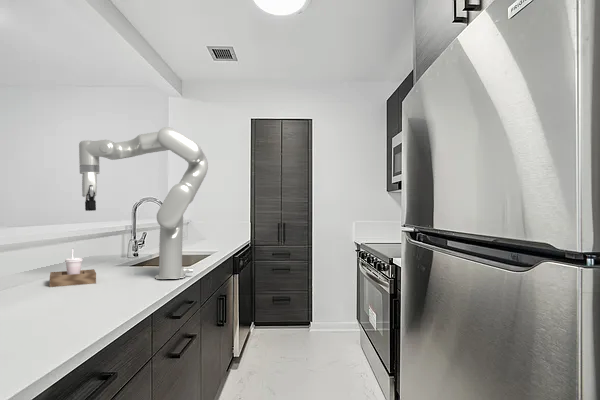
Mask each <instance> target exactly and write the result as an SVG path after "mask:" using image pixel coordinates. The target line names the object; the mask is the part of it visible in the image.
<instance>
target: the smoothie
mask: <svg viewBox="0 0 600 400" xmlns="http://www.w3.org/2000/svg"><path fill="white" fill-rule="evenodd" d="M74 252H75V251H74V247H73V248H71V257H70V258H65V259H64V262H65V266H66V267H65V268H66V271H67V275H69V274H80V270H82V263H83V262H84V261H83V260H84V259H83V257H74Z"/></svg>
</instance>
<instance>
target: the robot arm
mask: <svg viewBox="0 0 600 400" xmlns="http://www.w3.org/2000/svg"><path fill="white" fill-rule="evenodd" d="M78 151H79V152H78V157H79V161H78V162H79V163H78V165H79V175H80V174H81V187H82V188H81V192H82V193H81V196H82V198H85V201H84V206H85V208H84V209H85V212H87V211H88V212H91V211H93V212H94V211H95V212H96V210H97V208H96V207H97V206H96V205H97V204H96V203H97V202H96V196H97V188H98V186H97V184H98V183H97V181H98V179H97V177H98V176H97V175H99V174H100V173H101V172H100V157H101V158H104V159H108V160H112V161H113V160H114V161H115V160H122V159H129V158H134V157H137V156H142V155H145V154H152V153H157V152H165V151H170V152H172V153H174V155H175V154H176V155H177V156H178V157H180V158H182V159H183V160H185V162H187V169H186V171H185V172H184V174H183V175H182V178H181V179H180V181H179V182H178V183H177V184H175V185H173V186H172V188H170V190H169V191H168V194H167V195H166V197H165V199H164V200H163V201H162V204H161V205H160V207H159V209H158V211H157V212H156V221H157V224H158V225H159V245H158V247H159V249H158V250H159V251H158V252H159V254H158V255H159V256H158V257H159V258H158V259H159V260H158V274H156V275H155V276H154V278H156V279H155V280H157V279H175V278H180V277H184V276H185V277H186V274H189V273H190V274H192V273H194V269H193V268H192V267H191V268H187V267H183V233H184V232H183V229H184V214H185V212H186V210H187V208H188V207H189V205H190V204H191V203H193V201H194V199H195V196H196V194H197V193H198V191H199V189H200V188H201V185H202V183H203V182H204V180H205V178H206V175H207V173H208V170H209V165H208V164H209V162H208V159H207V156H206V154H205V153H204V151H203V149H202V148H201V146H200V145H199V143H197V142H195V141H193V140H192V139H191V138H189V137H187V136H185V135H184V134H182V133H181V132H180V131H178V130H177V129H174V128H173V127H167V126H166V127H162V128H160V129H159V130H158V131H154V132H147V133H140V134H139V135H137V136H135V137H134V138H132V139H130V140H126V141H119V142H113V140H110V139H99V140H81V141H79V143H78Z"/></svg>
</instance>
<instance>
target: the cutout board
mask: <svg viewBox="0 0 600 400" xmlns="http://www.w3.org/2000/svg"><path fill="white" fill-rule="evenodd" d="M91 284H97V273H96V270H95V269H92V268H91V269H81V270H80V274H69V275H67V270H61V271H50V274H49V287H50V288H53V287H66V286H77V285H78V286H80V285H91Z"/></svg>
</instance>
